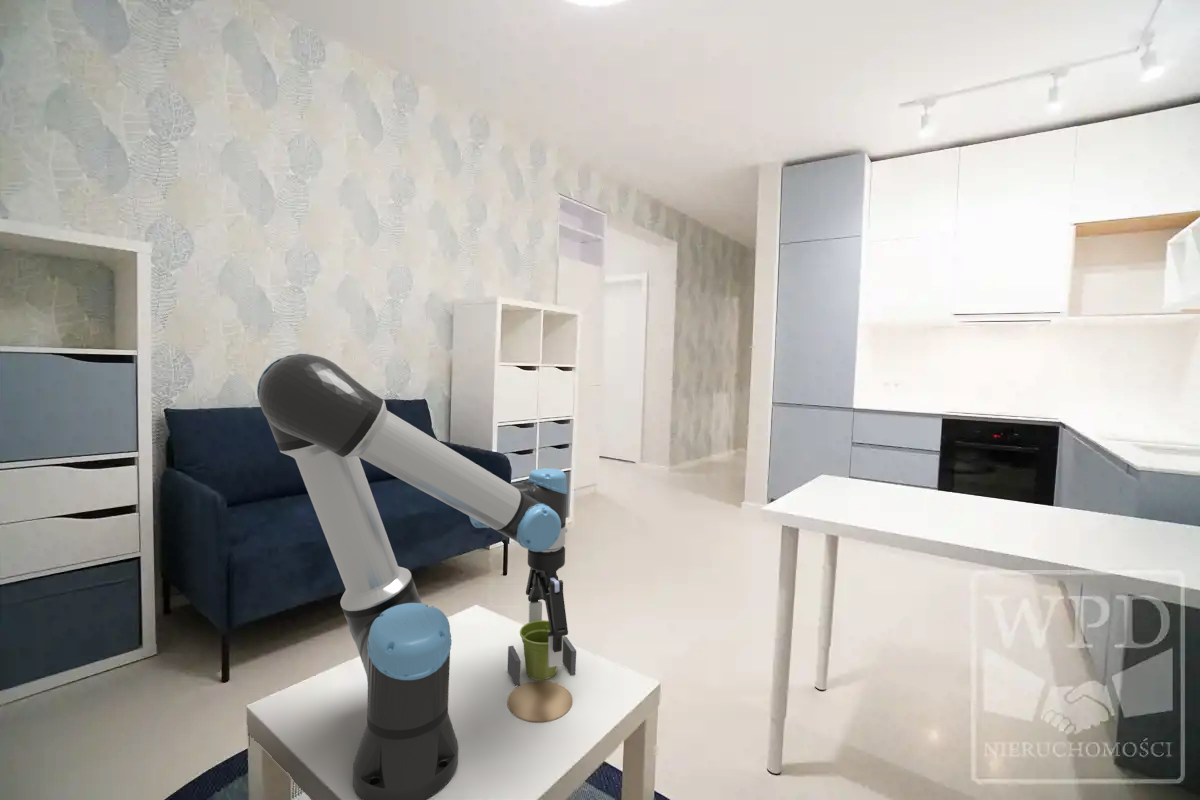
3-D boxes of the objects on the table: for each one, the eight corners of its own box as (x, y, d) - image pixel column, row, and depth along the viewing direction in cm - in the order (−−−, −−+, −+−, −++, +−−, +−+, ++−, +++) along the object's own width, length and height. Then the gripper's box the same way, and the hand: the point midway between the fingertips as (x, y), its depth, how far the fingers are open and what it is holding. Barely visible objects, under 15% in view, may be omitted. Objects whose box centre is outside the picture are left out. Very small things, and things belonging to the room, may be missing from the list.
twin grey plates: (514, 686, 104) (515, 661, 103) (507, 670, 109) (508, 646, 109) (575, 674, 109) (576, 650, 108) (565, 659, 114) (566, 636, 114)
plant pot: (567, 662, 113) (569, 622, 113) (559, 688, 104) (561, 645, 103) (524, 657, 114) (525, 618, 114) (512, 683, 105) (514, 640, 104)
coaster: (516, 728, 92) (517, 727, 92) (501, 689, 103) (501, 687, 103) (581, 713, 96) (581, 712, 96) (560, 677, 107) (560, 676, 107)
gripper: (587, 565, 98) (584, 677, 99) (545, 526, 120) (543, 617, 122) (547, 571, 95) (545, 686, 96) (513, 529, 117) (511, 622, 119)
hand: (544, 647), depth 109 cm, fingers open, 13 cm apart
